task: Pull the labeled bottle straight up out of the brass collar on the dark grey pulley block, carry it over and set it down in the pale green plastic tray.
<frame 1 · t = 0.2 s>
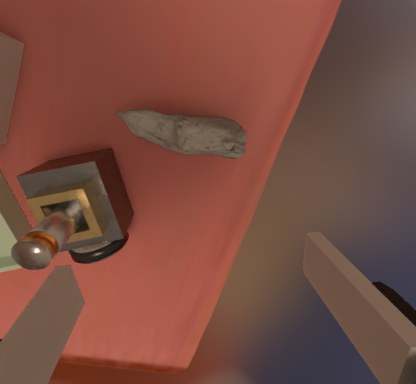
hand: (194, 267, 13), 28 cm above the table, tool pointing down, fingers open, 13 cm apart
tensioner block: (94, 188, 40), on the table
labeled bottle: (74, 209, 32), point 8 cm above the table, touching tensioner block
fossil: (184, 127, 38), on the table
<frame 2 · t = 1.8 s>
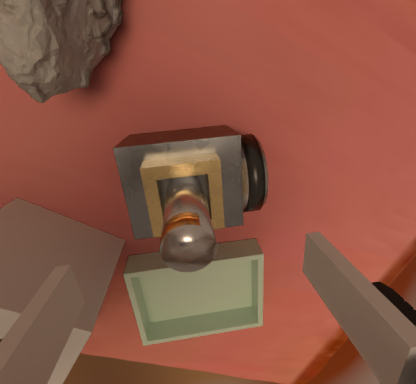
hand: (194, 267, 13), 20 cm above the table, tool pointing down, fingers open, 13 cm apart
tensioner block: (183, 168, 31), on the table
grey box: (53, 267, 35), on the table
tray: (197, 283, 39), on the table
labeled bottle: (184, 190, 24), point 8 cm above the table, touching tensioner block
fossil: (95, 18, 24), on the table
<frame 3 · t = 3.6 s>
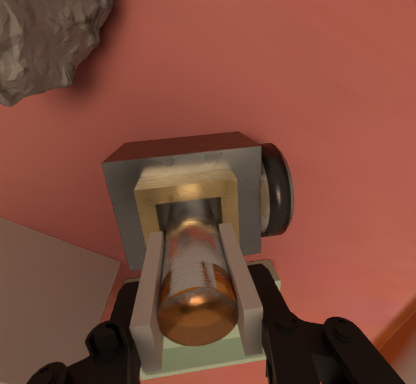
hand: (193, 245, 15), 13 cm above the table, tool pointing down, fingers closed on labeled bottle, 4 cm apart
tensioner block: (187, 181, 27), on the table
grey box: (39, 291, 31), on the table
tray: (203, 308, 35), on the table
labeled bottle: (190, 213, 19), point 8 cm above the table, touching gripper, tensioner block
fossil: (83, 3, 20), on the table
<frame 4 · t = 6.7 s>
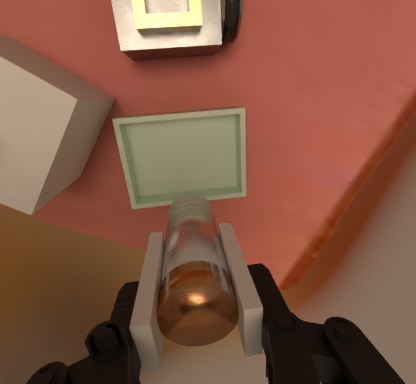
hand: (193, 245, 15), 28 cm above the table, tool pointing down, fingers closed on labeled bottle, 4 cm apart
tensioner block: (169, 17, 33), on the table
grey box: (47, 124, 37), on the table
tray: (185, 155, 41), on the table
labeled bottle: (190, 213, 19), point 23 cm above the table, touching gripper
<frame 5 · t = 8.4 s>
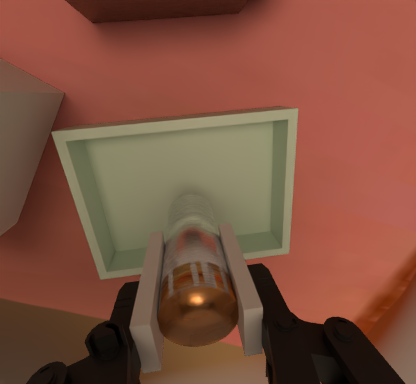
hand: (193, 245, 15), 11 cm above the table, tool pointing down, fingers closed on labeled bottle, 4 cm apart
tray: (188, 186, 25), on the table
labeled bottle: (190, 213, 19), point 6 cm above the table, touching gripper
when the fingers open (6 cm above the table, at t = 10.0 s): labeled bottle drops 1 cm, resting on tray.
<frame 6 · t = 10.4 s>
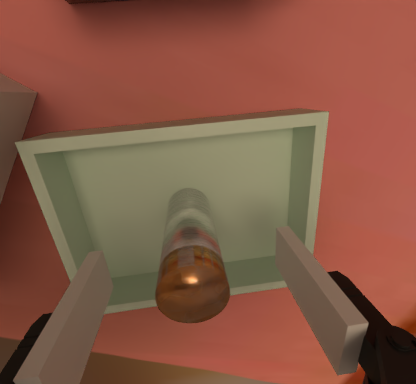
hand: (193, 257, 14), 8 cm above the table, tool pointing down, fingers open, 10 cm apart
tray: (189, 204, 21), on the table
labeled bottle: (188, 207, 21), point 1 cm above the table, touching tray
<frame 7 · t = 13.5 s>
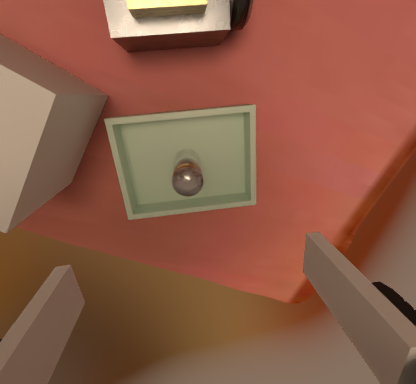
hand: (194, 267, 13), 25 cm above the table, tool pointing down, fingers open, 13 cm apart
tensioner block: (168, 2, 29), on the table
grey box: (32, 126, 33), on the table
tray: (187, 159, 37), on the table
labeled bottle: (186, 160, 36), point 1 cm above the table, touching tray
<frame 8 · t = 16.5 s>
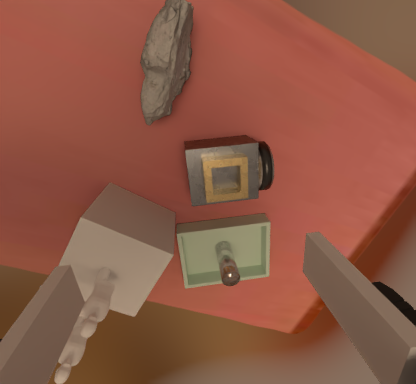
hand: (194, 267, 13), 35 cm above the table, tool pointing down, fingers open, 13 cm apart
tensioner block: (217, 163, 47), on the table
grey box: (125, 231, 51), on the table
tray: (222, 245, 55), on the table
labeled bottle: (223, 247, 54), point 1 cm above the table, touching tray
fossil: (170, 71, 40), on the table
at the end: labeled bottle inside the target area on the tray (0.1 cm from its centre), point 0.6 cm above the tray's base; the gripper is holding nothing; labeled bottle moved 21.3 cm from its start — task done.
